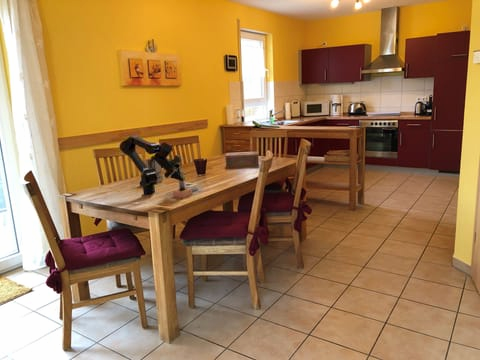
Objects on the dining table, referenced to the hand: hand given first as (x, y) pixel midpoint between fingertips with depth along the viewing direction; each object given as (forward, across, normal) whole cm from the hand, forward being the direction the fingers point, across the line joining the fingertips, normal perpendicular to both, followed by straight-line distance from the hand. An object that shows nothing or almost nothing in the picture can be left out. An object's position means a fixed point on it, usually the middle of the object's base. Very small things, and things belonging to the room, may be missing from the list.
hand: (183, 180), depth 221 cm
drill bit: (+4, 0, +6) cm, 7 cm away
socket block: (+6, +12, +7) cm, 15 cm away
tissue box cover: (+26, +95, -11) cm, 99 cm away
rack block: (+6, 0, +7) cm, 9 cm away
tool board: (+6, +5, +8) cm, 11 cm away
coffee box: (-14, +43, +29) cm, 54 cm away
